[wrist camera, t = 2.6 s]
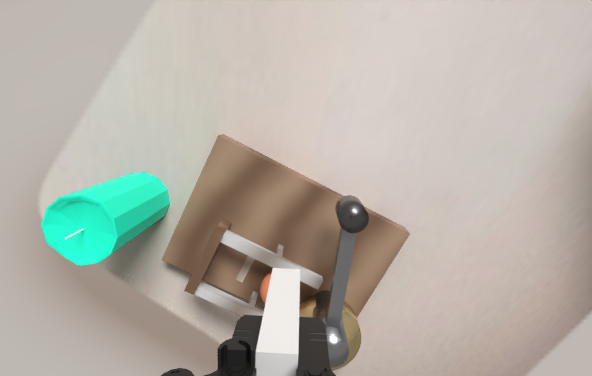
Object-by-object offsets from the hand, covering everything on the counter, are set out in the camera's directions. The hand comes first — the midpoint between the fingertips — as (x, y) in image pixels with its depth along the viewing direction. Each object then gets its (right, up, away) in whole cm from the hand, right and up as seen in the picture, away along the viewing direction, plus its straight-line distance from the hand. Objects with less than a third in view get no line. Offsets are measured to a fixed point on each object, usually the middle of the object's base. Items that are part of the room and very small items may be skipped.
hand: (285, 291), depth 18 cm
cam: (+5, -4, +17) cm, 18 cm away
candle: (-16, +5, +18) cm, 25 cm away
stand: (-1, 0, +19) cm, 19 cm away
